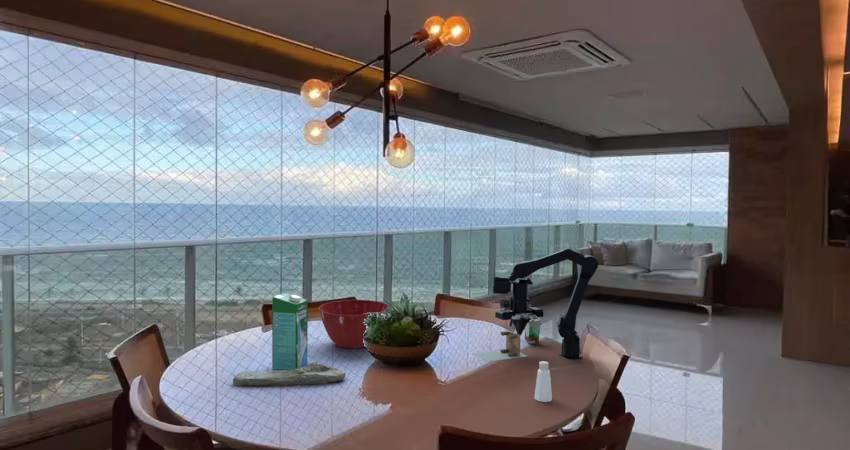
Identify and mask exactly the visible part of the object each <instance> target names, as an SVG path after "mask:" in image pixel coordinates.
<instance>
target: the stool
mask: <svg viewBox="0 0 850 450" xmlns="http://www.w3.org/2000/svg"><path fill="white" fill-rule="evenodd" d="M500 335H501V336H505V337H506V338H505V342H506V343H505V348H501V349H500V350H501V353H508V352H509V353H508V356H509V357H513V356H520V353H521V336H520V335H519V334H517V332H513V331H512V330H505V331H500Z"/></svg>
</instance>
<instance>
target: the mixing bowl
mask: <svg viewBox="0 0 850 450" xmlns="http://www.w3.org/2000/svg"><path fill="white" fill-rule="evenodd" d="M388 305H389V304H388V303H386V302H382V301H377V300H369V299H344V300H335V301H330V302H326V303H323V304H321V305H319V307H318V310H319V313H320V314H319V315H320V318H321V321H322V325H323V327H324V329H325V332H326V333H327V335H328V337H329V339H330V341H332V342H333V343H334V344H335V345H337V346H338V347H340V348H344V349H362V348H365V347H364V343H363V334H364V332H365V330H366V325H364V323H363V322H364V318H365V317H366V316H368V315H370V314H363V313H367V312H378V313H379V312H381V311H382V312H383V310H385V309H386V308H387V307H388Z"/></svg>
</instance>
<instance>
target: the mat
mask: <svg viewBox="0 0 850 450" xmlns="http://www.w3.org/2000/svg"><path fill="white" fill-rule="evenodd" d="M508 353H509V352H508ZM508 353H501V349H499V350H498V349H497V350H491V351H482V352H473V353H472V355H473V356H476V357H478V358H480V359H481V360H482V361H485V362H486V363H487V362H494V361H503V360H510V359H517V358H525V357H528V355H526V354H524V353H522V352H520V356H513V357H509V356H508Z"/></svg>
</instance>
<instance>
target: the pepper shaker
mask: <svg viewBox="0 0 850 450" xmlns="http://www.w3.org/2000/svg"><path fill="white" fill-rule="evenodd" d="M538 364H539V369H537V373H536V381H535V388H534V389H535V391H534V398H533V399H534V400H535V401H538V402H541V403H542V402H543V403H548V402H552V401H553V400H552V399H553V393H552V382H551V381H552V380H551V370H549V365H550V364H549V362H548V361H545V360H542V361H539V362H538Z"/></svg>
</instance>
